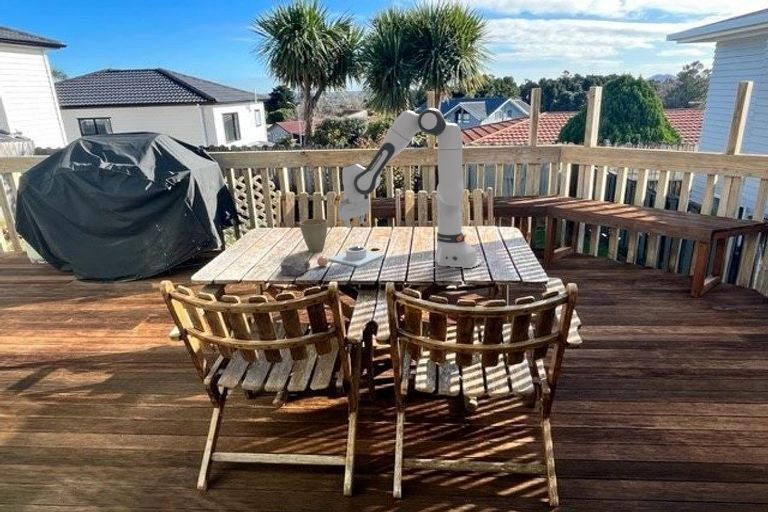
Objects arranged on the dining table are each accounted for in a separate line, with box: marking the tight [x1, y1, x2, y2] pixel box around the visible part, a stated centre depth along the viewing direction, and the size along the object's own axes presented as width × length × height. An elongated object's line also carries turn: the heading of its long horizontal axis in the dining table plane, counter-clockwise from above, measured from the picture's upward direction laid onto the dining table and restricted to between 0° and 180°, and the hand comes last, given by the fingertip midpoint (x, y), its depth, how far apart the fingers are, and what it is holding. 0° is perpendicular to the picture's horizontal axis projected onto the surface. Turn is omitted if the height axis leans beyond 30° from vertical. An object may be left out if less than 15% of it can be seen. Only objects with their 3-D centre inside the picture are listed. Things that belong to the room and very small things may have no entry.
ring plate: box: [327, 245, 385, 268], centre depth 226 cm, size 20×20×5 cm
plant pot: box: [299, 218, 329, 253], centre depth 241 cm, size 15×15×16 cm
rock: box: [280, 256, 311, 277], centre depth 209 cm, size 13×6×15 cm
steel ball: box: [353, 245, 362, 251], centre depth 226 cm, size 5×5×5 cm
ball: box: [316, 255, 329, 267], centre depth 216 cm, size 5×5×5 cm
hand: (355, 225), depth 221 cm, fingers open, 8 cm apart
